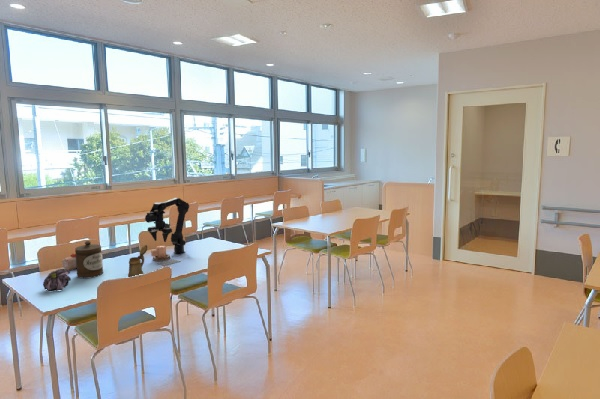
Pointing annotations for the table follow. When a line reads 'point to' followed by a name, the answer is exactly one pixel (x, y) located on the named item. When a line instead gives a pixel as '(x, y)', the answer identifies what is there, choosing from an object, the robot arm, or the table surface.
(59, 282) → the decorative flower
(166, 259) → the collar
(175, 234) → the robot arm
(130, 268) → the wooden mug
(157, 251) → the peach rounded piece
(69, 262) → the food item
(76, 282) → the table surface
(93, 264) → the wooden container
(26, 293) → the table surface
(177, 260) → the mat
